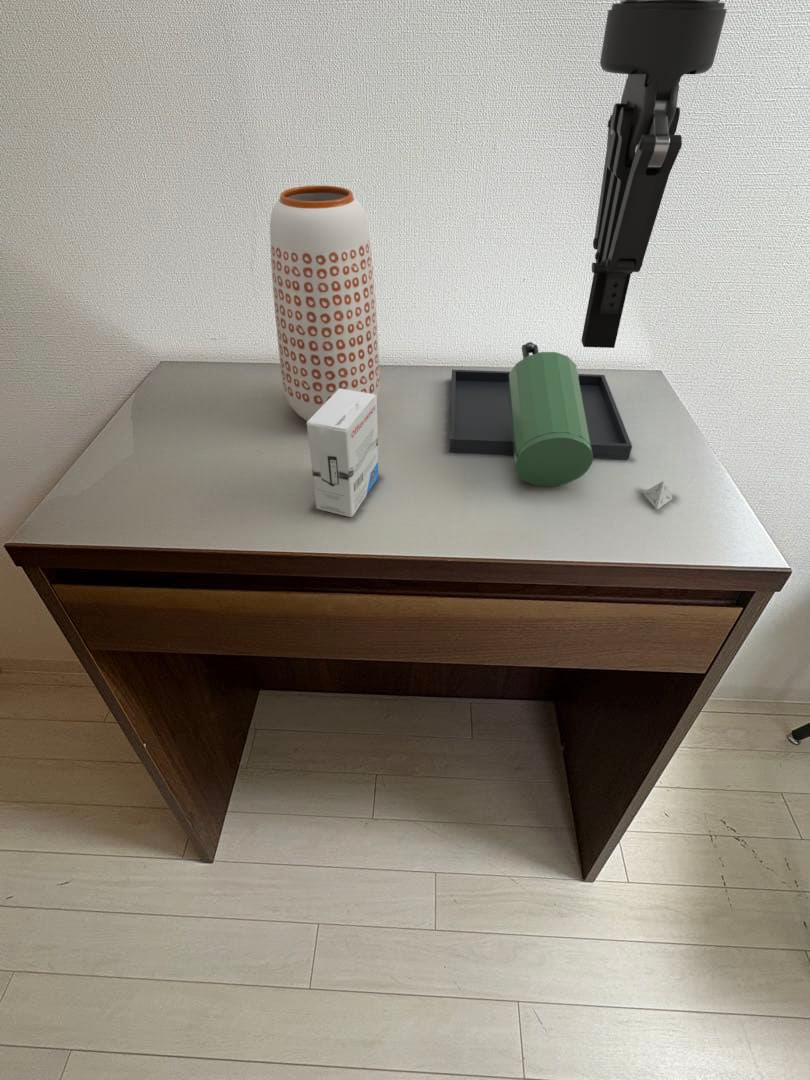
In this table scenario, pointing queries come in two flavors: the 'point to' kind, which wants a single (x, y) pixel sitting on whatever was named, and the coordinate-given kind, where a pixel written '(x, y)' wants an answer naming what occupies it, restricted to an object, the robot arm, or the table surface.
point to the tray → (488, 424)
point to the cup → (548, 420)
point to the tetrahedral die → (658, 495)
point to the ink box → (344, 450)
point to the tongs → (529, 349)
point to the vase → (323, 296)
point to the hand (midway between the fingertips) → (597, 343)
